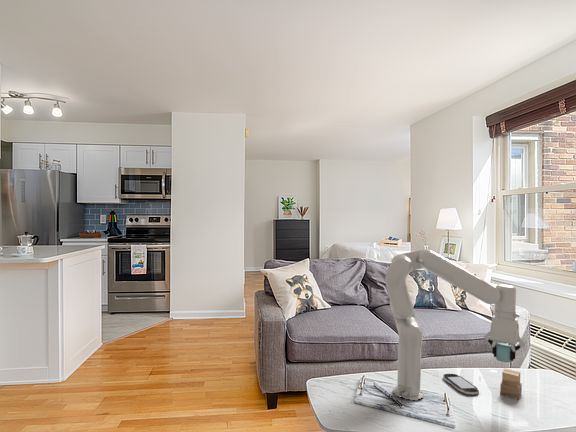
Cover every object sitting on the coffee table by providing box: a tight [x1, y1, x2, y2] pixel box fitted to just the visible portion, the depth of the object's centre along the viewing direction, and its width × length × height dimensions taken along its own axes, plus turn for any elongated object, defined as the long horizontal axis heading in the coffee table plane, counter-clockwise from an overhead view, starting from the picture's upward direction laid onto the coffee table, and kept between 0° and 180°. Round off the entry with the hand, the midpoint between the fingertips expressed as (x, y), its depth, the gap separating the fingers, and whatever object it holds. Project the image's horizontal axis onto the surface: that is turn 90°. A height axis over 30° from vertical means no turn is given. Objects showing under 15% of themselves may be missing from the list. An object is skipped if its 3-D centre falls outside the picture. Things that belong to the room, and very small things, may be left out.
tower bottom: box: [499, 381, 523, 401], centre depth 165 cm, size 7×7×5 cm
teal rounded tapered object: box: [495, 342, 512, 363], centre depth 156 cm, size 6×6×6 cm
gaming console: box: [442, 373, 480, 396], centre depth 173 cm, size 19×9×3 cm, turn 7°
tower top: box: [501, 368, 521, 388], centre depth 165 cm, size 6×6×5 cm
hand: (503, 357), depth 156 cm, fingers closed on teal rounded tapered object, 5 cm apart
